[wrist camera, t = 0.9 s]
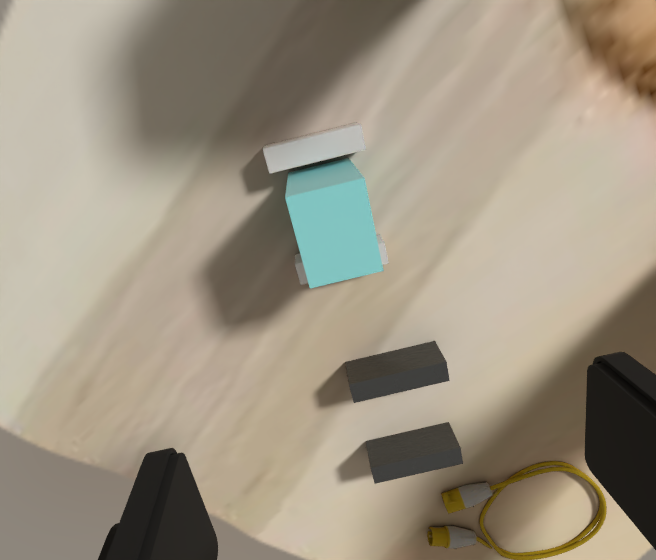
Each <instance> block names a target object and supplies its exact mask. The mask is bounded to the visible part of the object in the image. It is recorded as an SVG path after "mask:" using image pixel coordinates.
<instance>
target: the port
mask: <svg viewBox="0 0 656 560" xmlns="http://www.w3.org/2000/svg"><path fill="white" fill-rule="evenodd" d="M345 364H346V370H347V376H348V381H349V386H350V390H351V394H352V398H353V402H354V403H356V402H360V401H364V400H368V399H373V398H377V397H381V396H386V395H390V394H394V393H398V392H403V391H407V390H411V389H416V388H420V387H424V386H428V385H433V384H437V383H441V382H446V381H449V375H448V368H447V362H446V360H445V358H444V357H443V355H442V353H441V351H440V349H439V348H438V346H437V344H436V342H435V341H433V342H429V343H424V344H420V345H416V346H412V347H407V348H403V349H399V350H395V351H390V352H386V353H382V354H378V355H373V356H369V357H365V358H361V359H356V360H352V361H348V362H345ZM366 446H367V451H368V456H369V462H370V467H371V471H372V475H373V479H374V482H375V483H380V482H384V481H389V480H393V479H397V478H402V477H406V476H411V475H415V474H419V473H424V472H428V471H433V470H437V469H441V468H446V467H450V466H455V465H459V464H463V460H462V454H461V448H460V446H459V443H458V441H457V439H456V437H455V435H454V433H453V430H452V428H451V426H450V424H449V422H447V423H443V424H439V425H434V426H430V427H426V428H421V429H417V430H413V431H408V432H404V433H400V434H395V435H391V436H387V437H382V438H378V439H374V440H369V441H366Z"/></svg>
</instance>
